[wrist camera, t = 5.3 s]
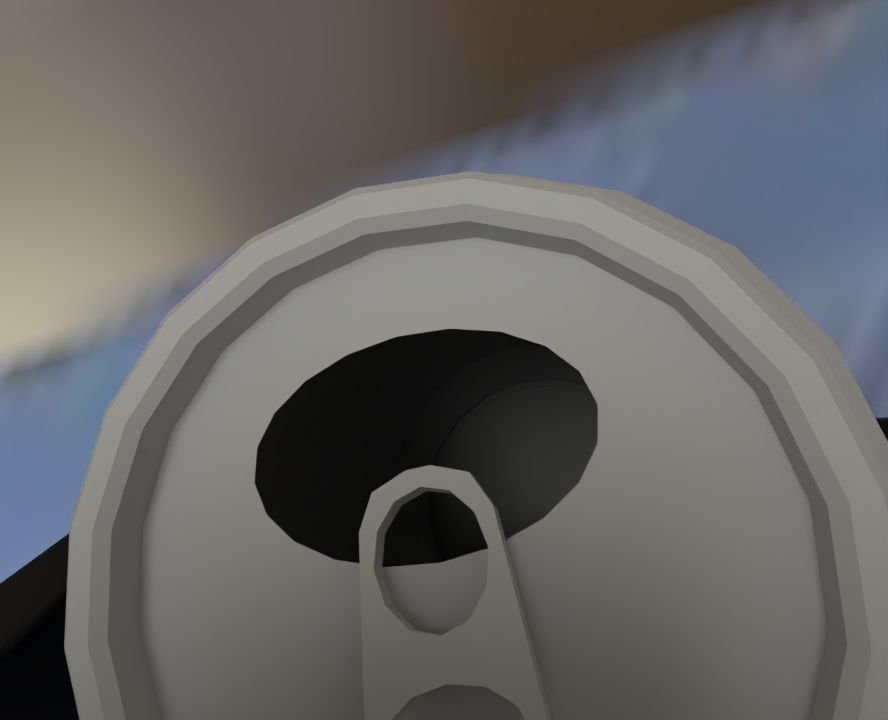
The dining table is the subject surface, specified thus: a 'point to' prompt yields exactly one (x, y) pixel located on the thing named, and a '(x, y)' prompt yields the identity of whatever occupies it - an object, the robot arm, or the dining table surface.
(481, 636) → the can
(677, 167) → the dining table surface
